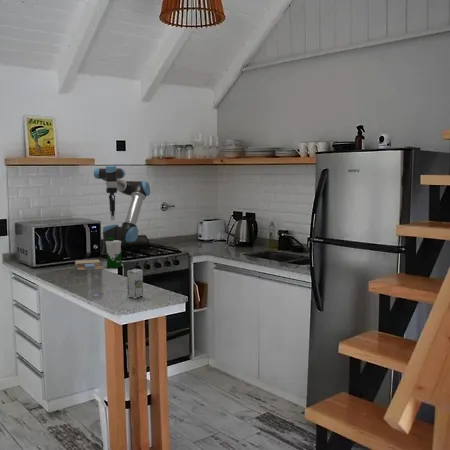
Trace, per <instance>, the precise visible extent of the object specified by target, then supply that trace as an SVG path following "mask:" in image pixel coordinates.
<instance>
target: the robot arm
mask: <svg viewBox="0 0 450 450" xmlns="http://www.w3.org/2000/svg"><path fill="white" fill-rule="evenodd" d="M125 175H126V171H125V170H124V169H123V168H121V167H119V168H118V167H117V166H116V165H107V166H106V167H105V168H103V167H102V168H95V169H94V170H93V177H94V179H96V180H97V179H98V180H103V181H104V182H105V185H106V186H105V187H106V188H105V192H106V194H109V195H108V201H109V213H110V221H115V217H116V216H115V215H116V214H115V211H116V195H115V194H117V193H118V192H120V193H122V194H123V195H126V196H131V201H130V204H129V207H128V211H127V213H126V214H127V215H126V216H125V217H126V218H125V221H124V222H122V223H121V226H119V224H110V225H106V226H103V227H102V242H103V243H102V244H103V247H102V249H101V253H100V254H102V255H107V247H106V241H108V238H114V240H119V241H121V243H134V242H136V241H137V239H138V237H139V228H138V227H137V223H138V222H137V221H138V219H139V215H140V212H141V209H142V204H143V201H145V200H146V198H147V197H148V196H150V195H151V186H150V184H149V182H148V181H146V180H145V181H144V180H141V181H140V180H139V181H138V180H125V179H123V178H124V177H125ZM102 255H101V256H102Z"/></svg>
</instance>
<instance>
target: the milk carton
mask: <svg viewBox="0 0 450 450" xmlns="http://www.w3.org/2000/svg"><path fill="white" fill-rule="evenodd" d="M121 245H122V242H121V241H119V240H114V238H108V241H106V247H107V256H106V260H107V261H106V268H107V269H119V268H122V248H121V247H122V246H121Z"/></svg>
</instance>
